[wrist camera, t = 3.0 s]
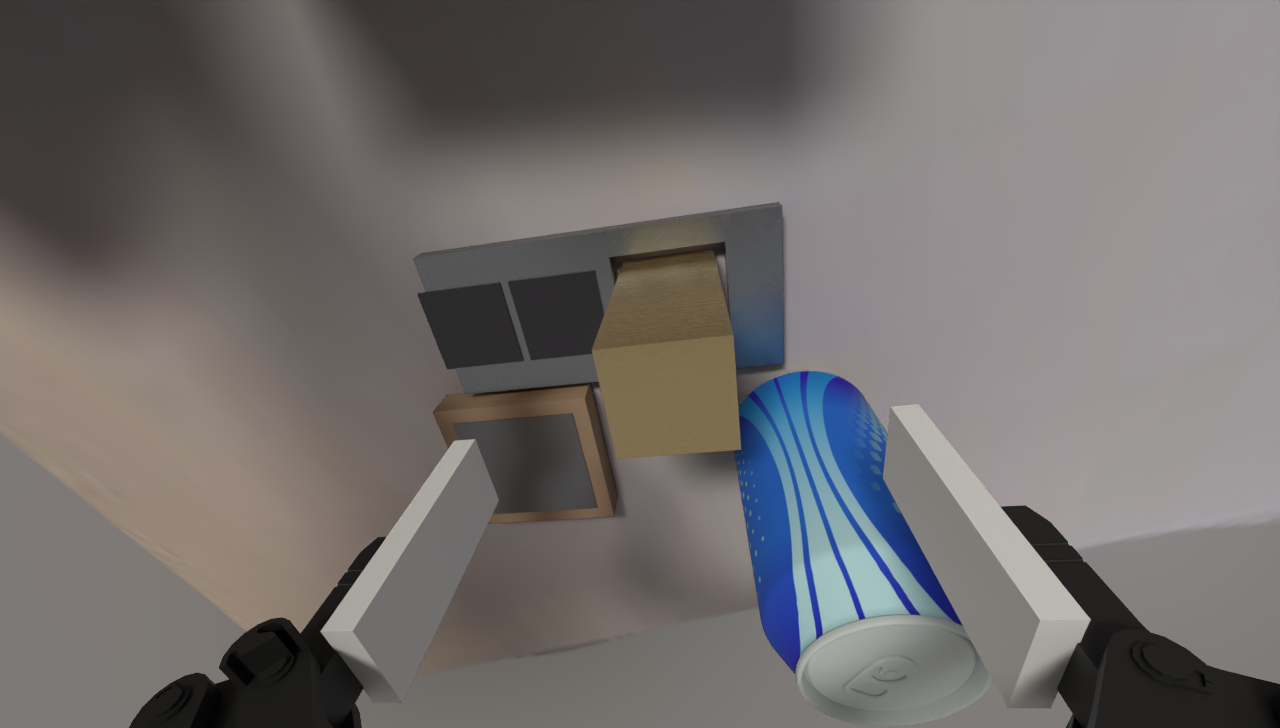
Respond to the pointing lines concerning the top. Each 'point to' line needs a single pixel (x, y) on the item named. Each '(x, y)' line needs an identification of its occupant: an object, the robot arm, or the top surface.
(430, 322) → the grey slotted plate
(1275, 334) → the top surface
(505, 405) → the pad
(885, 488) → the beer can
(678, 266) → the brass rectangular block
